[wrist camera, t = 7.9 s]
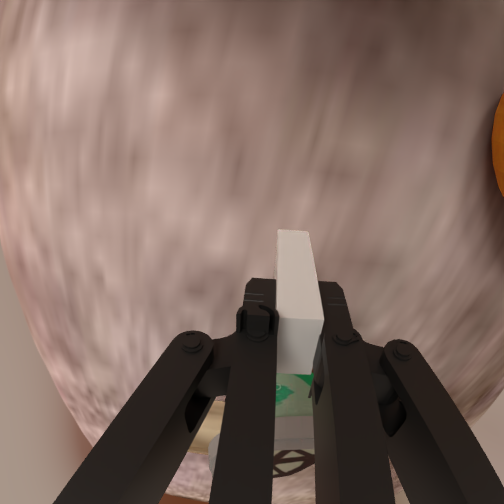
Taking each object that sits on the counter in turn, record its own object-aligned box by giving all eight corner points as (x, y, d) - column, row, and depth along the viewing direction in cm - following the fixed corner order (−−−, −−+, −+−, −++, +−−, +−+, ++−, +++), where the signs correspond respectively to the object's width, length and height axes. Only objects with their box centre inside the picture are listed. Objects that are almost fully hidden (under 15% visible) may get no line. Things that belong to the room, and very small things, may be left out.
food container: (300, 303, 22) (309, 421, 13) (348, 346, 24) (369, 453, 15) (194, 375, 27) (169, 470, 18) (243, 406, 28) (233, 495, 20)
